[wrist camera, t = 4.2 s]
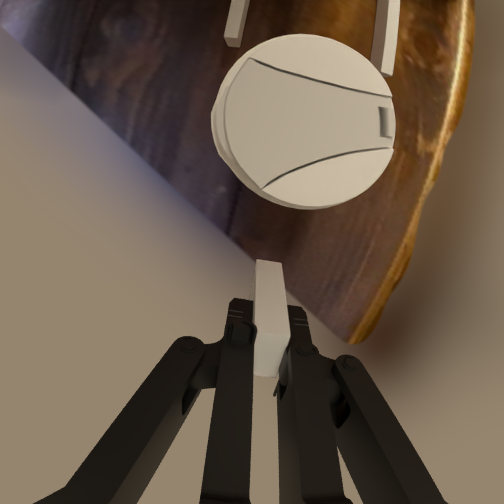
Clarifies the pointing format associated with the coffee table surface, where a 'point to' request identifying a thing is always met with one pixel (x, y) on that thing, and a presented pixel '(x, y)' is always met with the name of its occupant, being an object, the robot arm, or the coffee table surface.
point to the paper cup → (304, 121)
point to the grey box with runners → (381, 41)
